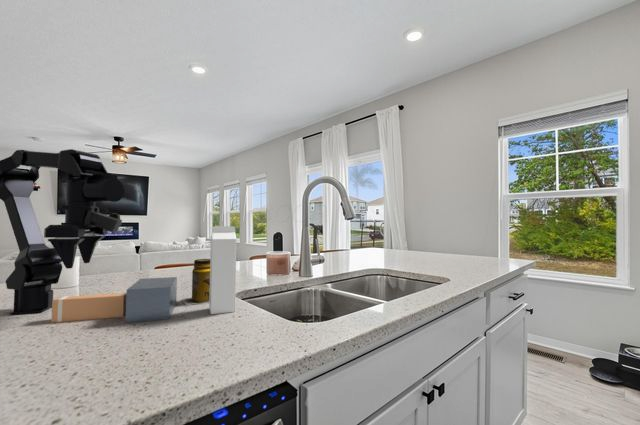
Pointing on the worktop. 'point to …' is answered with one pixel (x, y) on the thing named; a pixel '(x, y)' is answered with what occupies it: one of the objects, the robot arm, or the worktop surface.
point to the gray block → (151, 299)
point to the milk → (222, 270)
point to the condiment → (200, 283)
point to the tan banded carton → (88, 307)
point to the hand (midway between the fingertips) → (78, 265)
